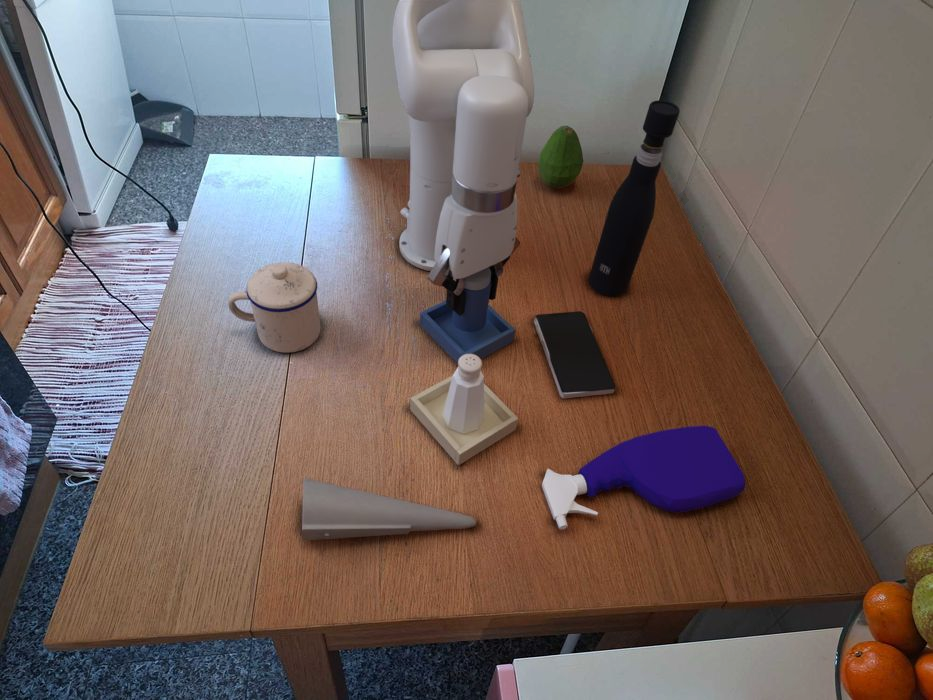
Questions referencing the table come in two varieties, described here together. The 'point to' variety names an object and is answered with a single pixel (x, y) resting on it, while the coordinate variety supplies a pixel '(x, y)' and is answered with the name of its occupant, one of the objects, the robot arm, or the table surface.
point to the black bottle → (632, 207)
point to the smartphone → (573, 355)
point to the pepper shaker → (474, 302)
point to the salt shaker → (465, 396)
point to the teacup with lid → (282, 306)
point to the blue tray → (462, 342)
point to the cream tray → (456, 444)
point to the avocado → (561, 158)
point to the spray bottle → (654, 473)
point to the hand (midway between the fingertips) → (470, 300)
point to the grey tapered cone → (368, 514)
